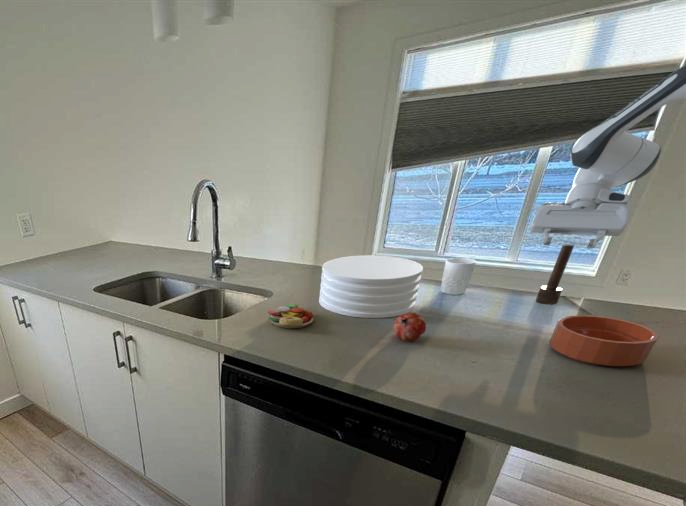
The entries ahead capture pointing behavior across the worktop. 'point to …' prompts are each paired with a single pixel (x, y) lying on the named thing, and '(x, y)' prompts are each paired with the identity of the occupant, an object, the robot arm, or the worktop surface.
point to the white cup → (457, 275)
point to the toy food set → (291, 316)
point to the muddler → (555, 278)
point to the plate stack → (370, 286)
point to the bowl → (603, 340)
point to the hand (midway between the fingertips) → (568, 245)
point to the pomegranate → (409, 327)
